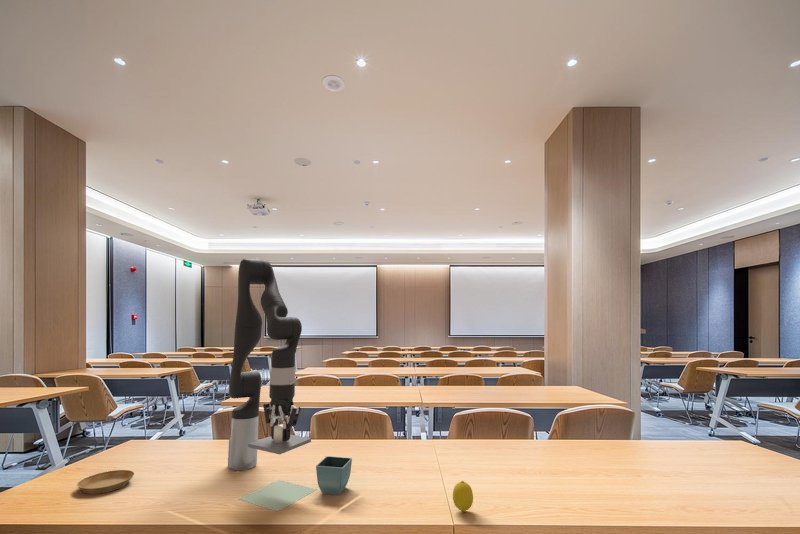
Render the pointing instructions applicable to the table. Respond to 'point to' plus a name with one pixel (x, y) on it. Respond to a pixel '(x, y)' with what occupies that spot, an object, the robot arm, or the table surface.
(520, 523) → the table surface
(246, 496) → the mat
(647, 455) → the table surface
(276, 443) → the lid
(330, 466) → the flower pot
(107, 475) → the plant saucer
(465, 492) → the lemon
